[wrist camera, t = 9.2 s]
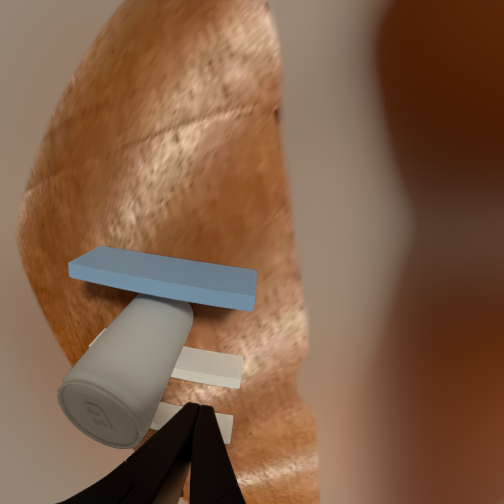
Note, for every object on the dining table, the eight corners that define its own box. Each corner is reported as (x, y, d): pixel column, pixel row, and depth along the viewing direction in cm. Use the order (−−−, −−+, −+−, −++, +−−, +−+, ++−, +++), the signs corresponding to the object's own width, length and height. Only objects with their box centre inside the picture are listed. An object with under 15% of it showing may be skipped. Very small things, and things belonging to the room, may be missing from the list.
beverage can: (145, 335, 23) (80, 440, 11) (131, 282, 21) (40, 373, 10) (200, 335, 22) (158, 457, 11) (189, 278, 21) (122, 387, 10)
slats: (232, 421, 25) (228, 456, 21) (115, 395, 25) (98, 424, 21) (256, 270, 21) (255, 296, 16) (100, 245, 21) (68, 262, 16)
